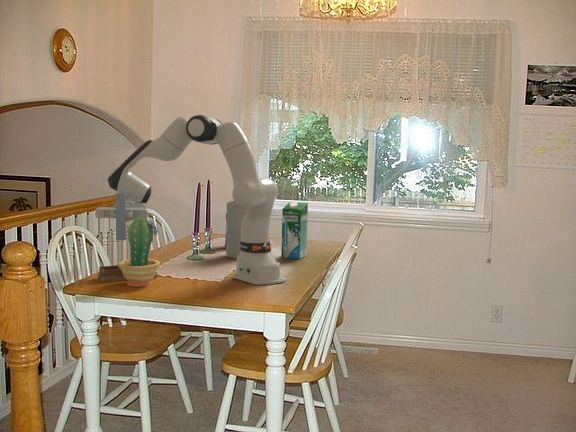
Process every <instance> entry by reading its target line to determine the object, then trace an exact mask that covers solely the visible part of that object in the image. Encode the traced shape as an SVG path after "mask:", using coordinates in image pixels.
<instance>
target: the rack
mask: <svg viewBox="0 0 576 432" xmlns="http://www.w3.org/2000/svg"><path fill="white" fill-rule="evenodd" d="M97 278H98V279H99V280H100V281H101V282H102V283H110V282H111V283H112V282H121V281H122V282H123V281H127V280H126V278H125V277H124V276H123V273H122V270H121V269H120V268H119V265H106V266H105V265H104V266H103V265H102V266H99V267H98V273H97ZM154 278H158V272H157V271H156V274H155V276H154V277H153V279H154Z"/></svg>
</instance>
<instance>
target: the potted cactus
mask: <svg viewBox="0 0 576 432" xmlns="http://www.w3.org/2000/svg"><path fill="white" fill-rule="evenodd" d="M158 232H159V230H158V228H157V226H156V224H155V223H154V221H152V220H148V218H145V219H144V217H142V218H141V219H140V218H138V217H137V218H135V219H134V220H131V222H130V224H129V226H128V227H127V238H128V243H129V245H130V246H129V247H130V259H125V260H121V261H119V262H118V263H117V264H118V266H119V268H120V269H121V270H122V273H123V276H124V277H125V278H126V280H125V281H127V283H126V285H127V286H130V287H138V288H139V287H148V286H150V285H152V284H153V283H152V280H153V279H154V278H155V277H154V276H155V274H156V272H157V271H158V269H159V268H160V266H161V265H160V264H161V262H160V261H159V260H157V259H151V258H149V255H150V249H151V245H152V242H153V239H154V236H155V238H157V236H158V234H159V233H158ZM153 277H154V278H153Z"/></svg>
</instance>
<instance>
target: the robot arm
mask: <svg viewBox="0 0 576 432" xmlns="http://www.w3.org/2000/svg"><path fill="white" fill-rule="evenodd" d="M193 141H194V142H196V143H200V144H204V145H210V146H211V145H212V146H213V145H217V144H218V145H219V148H220V150H221V152H222V154H223V156H224V157H223V158H224V159H225V161H226V163H227V166H228V167H229V170H230V174H231V178H232V184H233V190H232V192H231V193H232V201H234V202H235V203H236V204H237V205H238V206H240V207H244V208H247V210H246V214H245V216H244V218H243V220H242V230H241V241H240V250H241V252H240V254H239V255H238V257H237V259H236V265H235V266H236V268H235V273H234V274H232V279H237V280H239V281H241V282H246V283H248V284H249V283H250V284H252V285H261V286H262V285H274V284H281V283H285V282H286V281H287V279H286V278H285V277H284V276H283V275H281V273H280V272H281V271H280V269H281V263H280V262H278V261H277V260H276V258H275V256H274V254H273V253H272V245H271V241H270V222H271V216H272V213H273V208H274V203H275V200H276V199H277V197H278V196H279V188H278V187H279V186H278V185H277V183H276V182H275V181H273V180H271V179H270V178H265V177H261V178H260V177H258V172H257V163H258V162H257V158H256V156H255V154H254V152H253V148H252V147H251V144H250V143H249V141H248V139H247V136H246V135H245V133H244V131H243V130H242V129H241V127H240V125H238V123H237V122H234V121H226V122H224V123H222V121H220V120H219V119H217V118H214V117H212V116H209V115H204V114H197V115H193V116H191V117H190V118H188V117H185V116H179V117H177V118H176V119H174V120H173V121H172V122H171V123H170V124H169V125H168V126H167V127H166V129H165V130H164V131H163V132H162V134H161V135H160V136H158V138H156V139H149V140H146V141H145V142H143V143H142V144H141V145H140V146H139V147H138V148H136V150H135V151H134V152H132V153H131V154H130V156H128V157H127V158H126V159H125V160H124V161H123V162H122V163H121V164H120V165H119V166H117V167H116V168H114V169H113V170H112V171H111V172H110V173H109V175H108V177H107V183H108V187H109V188H110V189H112V190H114V191H115V192H117V193H126V222H130V221H131V222H132V221H133V220H134V219H135V218H137V217H138V218H140V219H141V218H142V217H144V219H145V218H147V219H148V218H149V207H148V206H147V205H146V204H147V203H148V202H149V199H150V197H151V195H152V187H151V185H150V184H148V183H147V182H146V181H144V180H143V179H141V178H140V177H138V176H137V175H135V174H134V173H133V172H131V169H132V168H133V167H134V166H136V165H137V164H138V162H139V161H141V160H142V159H144V158H152V159H155V160H159V161H164V162H172V161H175V160H177V159H178V158H180V157H181V155H183V154H184V151H185V150H186V149H187V148H188V147H189V145H190V144H191V143H192V142H193ZM94 212H95V218H97V219H115V220H116V202H115V203H114V204H113V206H99V207H97V208H95V211H94Z"/></svg>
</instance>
